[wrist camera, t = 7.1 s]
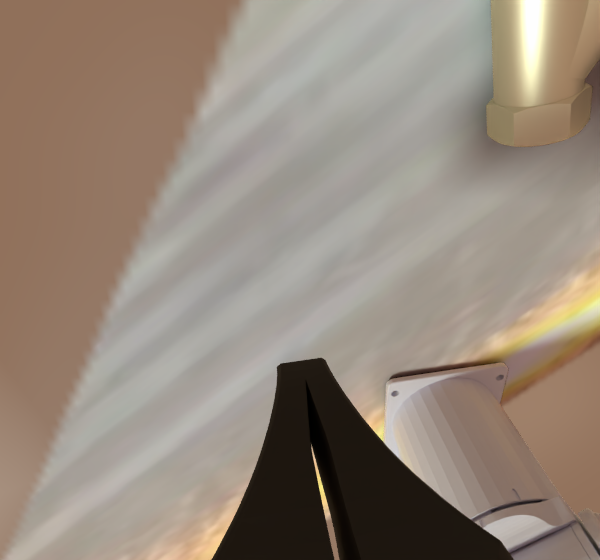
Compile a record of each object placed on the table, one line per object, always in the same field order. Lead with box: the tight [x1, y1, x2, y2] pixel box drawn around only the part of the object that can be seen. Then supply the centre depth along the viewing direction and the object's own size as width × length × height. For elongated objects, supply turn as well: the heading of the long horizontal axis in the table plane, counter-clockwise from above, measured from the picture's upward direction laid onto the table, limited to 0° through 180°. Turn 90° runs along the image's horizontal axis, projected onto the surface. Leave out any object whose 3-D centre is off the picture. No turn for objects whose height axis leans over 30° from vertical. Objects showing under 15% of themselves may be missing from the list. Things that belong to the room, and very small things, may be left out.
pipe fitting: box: [486, 0, 600, 147], centre depth 17 cm, size 8×4×7 cm
